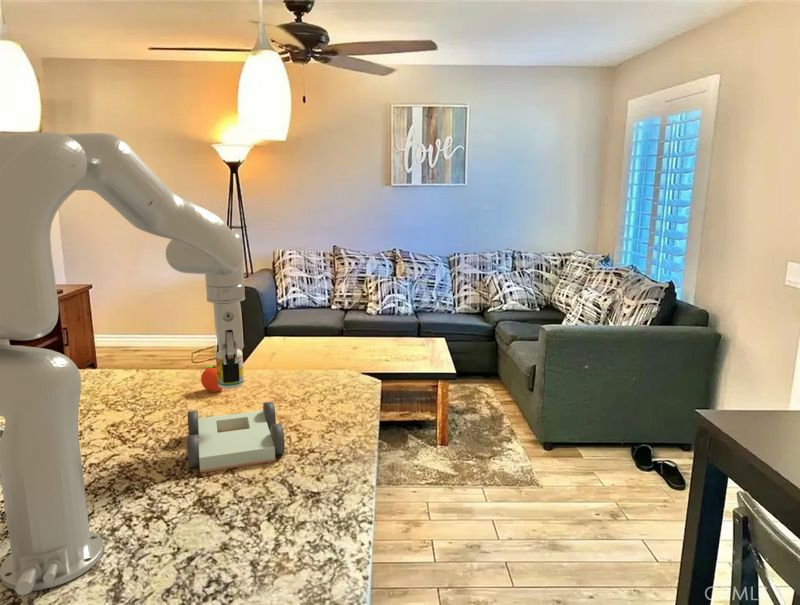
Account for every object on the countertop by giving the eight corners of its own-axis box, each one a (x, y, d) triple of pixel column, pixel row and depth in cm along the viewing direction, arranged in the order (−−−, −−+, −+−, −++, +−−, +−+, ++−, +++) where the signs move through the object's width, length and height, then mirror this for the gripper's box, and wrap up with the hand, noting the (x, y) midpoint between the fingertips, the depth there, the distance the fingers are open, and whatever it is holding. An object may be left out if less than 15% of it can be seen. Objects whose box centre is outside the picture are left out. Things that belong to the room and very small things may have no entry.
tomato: (192, 393, 149) (190, 367, 148) (208, 385, 155) (207, 360, 154) (219, 396, 147) (217, 370, 145) (234, 388, 153) (232, 362, 152)
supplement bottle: (244, 388, 119) (242, 343, 117) (217, 390, 117) (214, 345, 115) (243, 379, 124) (241, 337, 122) (217, 382, 122) (215, 339, 120)
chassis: (285, 459, 113) (284, 431, 111) (188, 474, 107) (186, 444, 105) (272, 421, 131) (271, 397, 130) (189, 432, 125) (187, 406, 124)
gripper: (248, 299, 110) (252, 388, 113) (241, 285, 126) (245, 363, 129) (207, 301, 107) (213, 392, 111) (205, 287, 123) (210, 367, 127)
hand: (230, 376), depth 120 cm, fingers closed on supplement bottle, 5 cm apart
